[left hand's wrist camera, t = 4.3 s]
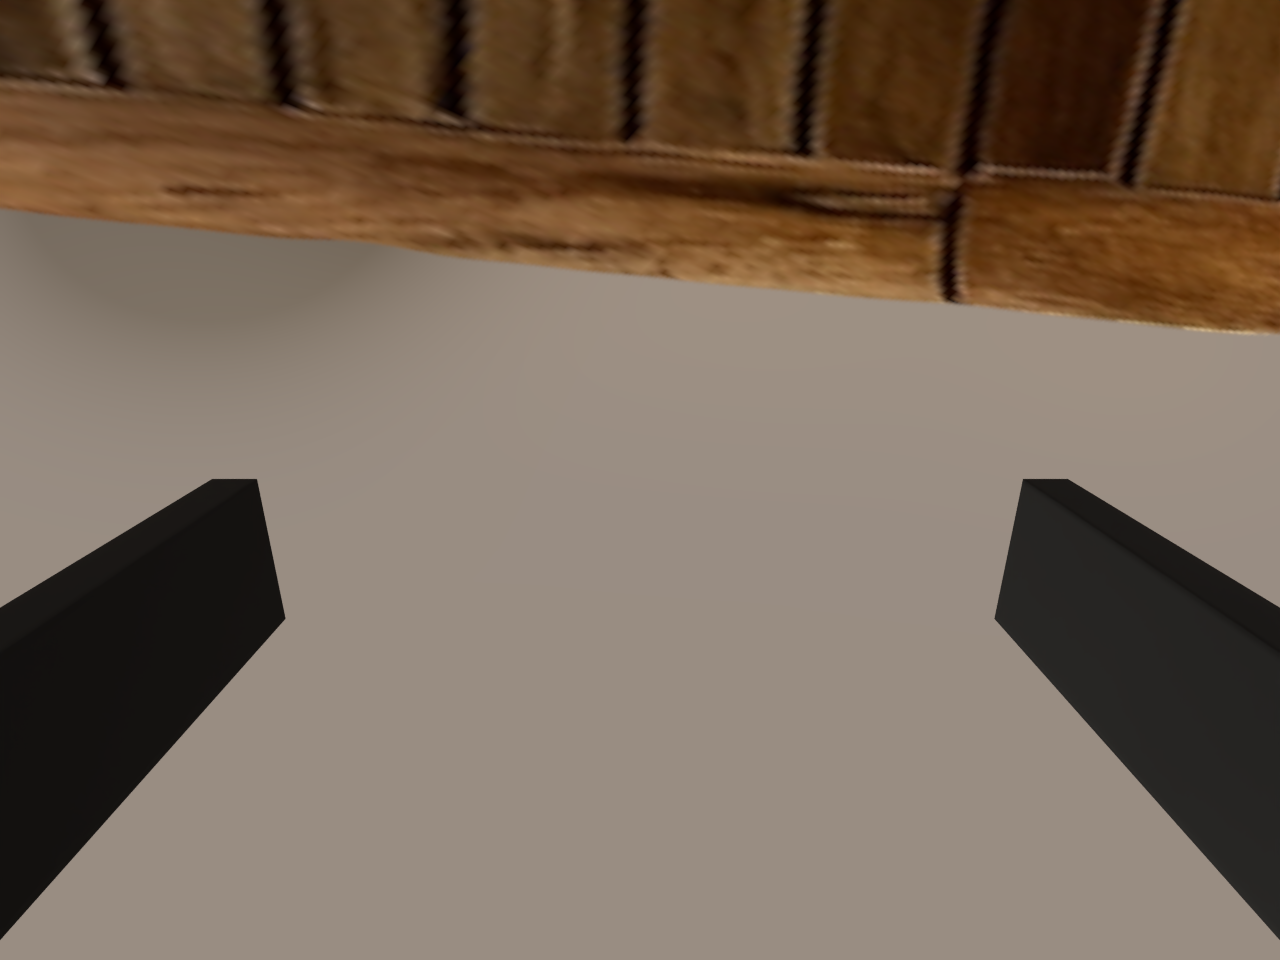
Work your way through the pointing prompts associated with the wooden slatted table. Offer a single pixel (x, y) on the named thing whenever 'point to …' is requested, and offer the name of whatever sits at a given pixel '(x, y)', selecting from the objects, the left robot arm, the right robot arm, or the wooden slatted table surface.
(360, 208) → the wooden slatted table surface
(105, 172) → the wooden slatted table surface
